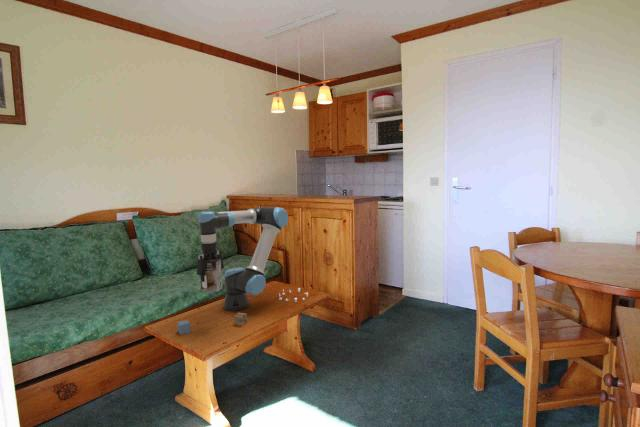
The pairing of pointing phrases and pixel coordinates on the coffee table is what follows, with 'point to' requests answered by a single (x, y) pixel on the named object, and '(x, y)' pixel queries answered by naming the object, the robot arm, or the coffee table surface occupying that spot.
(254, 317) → the coffee table surface
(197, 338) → the coffee table surface
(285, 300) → the game piece set
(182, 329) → the slate block
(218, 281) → the coffee box
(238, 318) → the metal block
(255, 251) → the robot arm
